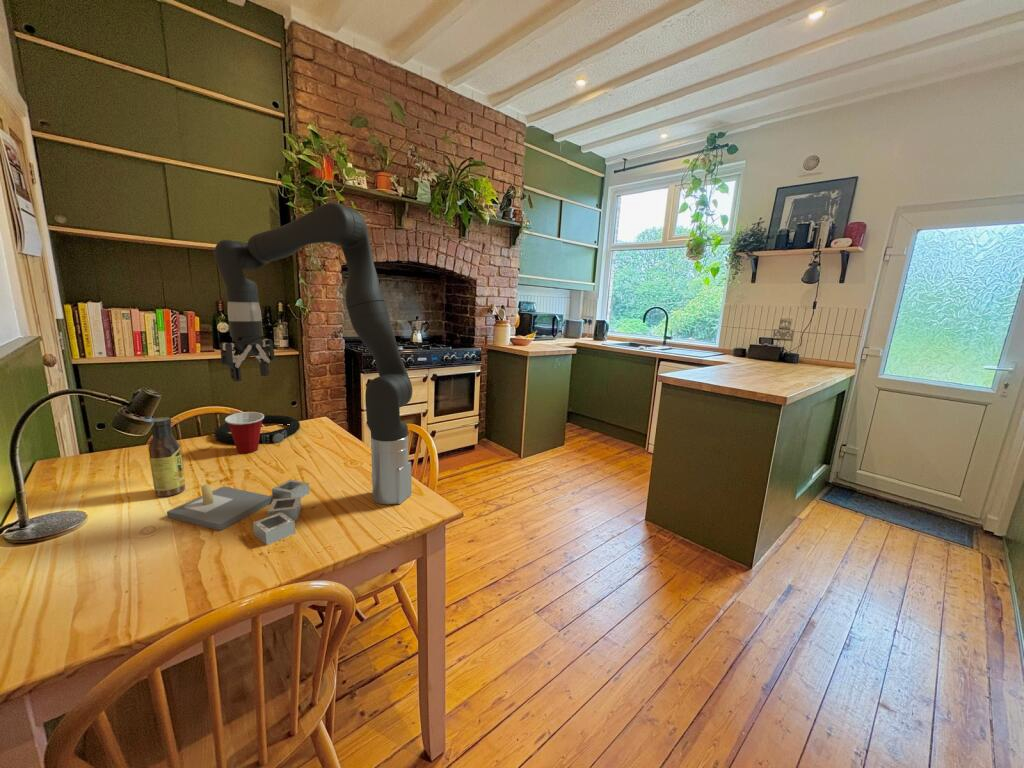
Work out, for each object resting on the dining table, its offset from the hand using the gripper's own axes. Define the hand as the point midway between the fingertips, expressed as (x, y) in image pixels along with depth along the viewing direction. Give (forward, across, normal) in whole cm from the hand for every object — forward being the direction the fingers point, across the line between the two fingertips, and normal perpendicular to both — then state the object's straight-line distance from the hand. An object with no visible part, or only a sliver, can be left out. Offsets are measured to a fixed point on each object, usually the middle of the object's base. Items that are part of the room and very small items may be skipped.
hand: (251, 378), depth 113 cm
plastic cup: (+28, +13, +20) cm, 37 cm away
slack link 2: (+29, -22, -28) cm, 46 cm away
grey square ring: (+29, -7, -18) cm, 35 cm away
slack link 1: (+29, -15, -24) cm, 40 cm away
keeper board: (+29, -18, -8) cm, 35 cm away
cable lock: (+29, +28, +31) cm, 50 cm away
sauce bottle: (+29, -16, +12) cm, 35 cm away
